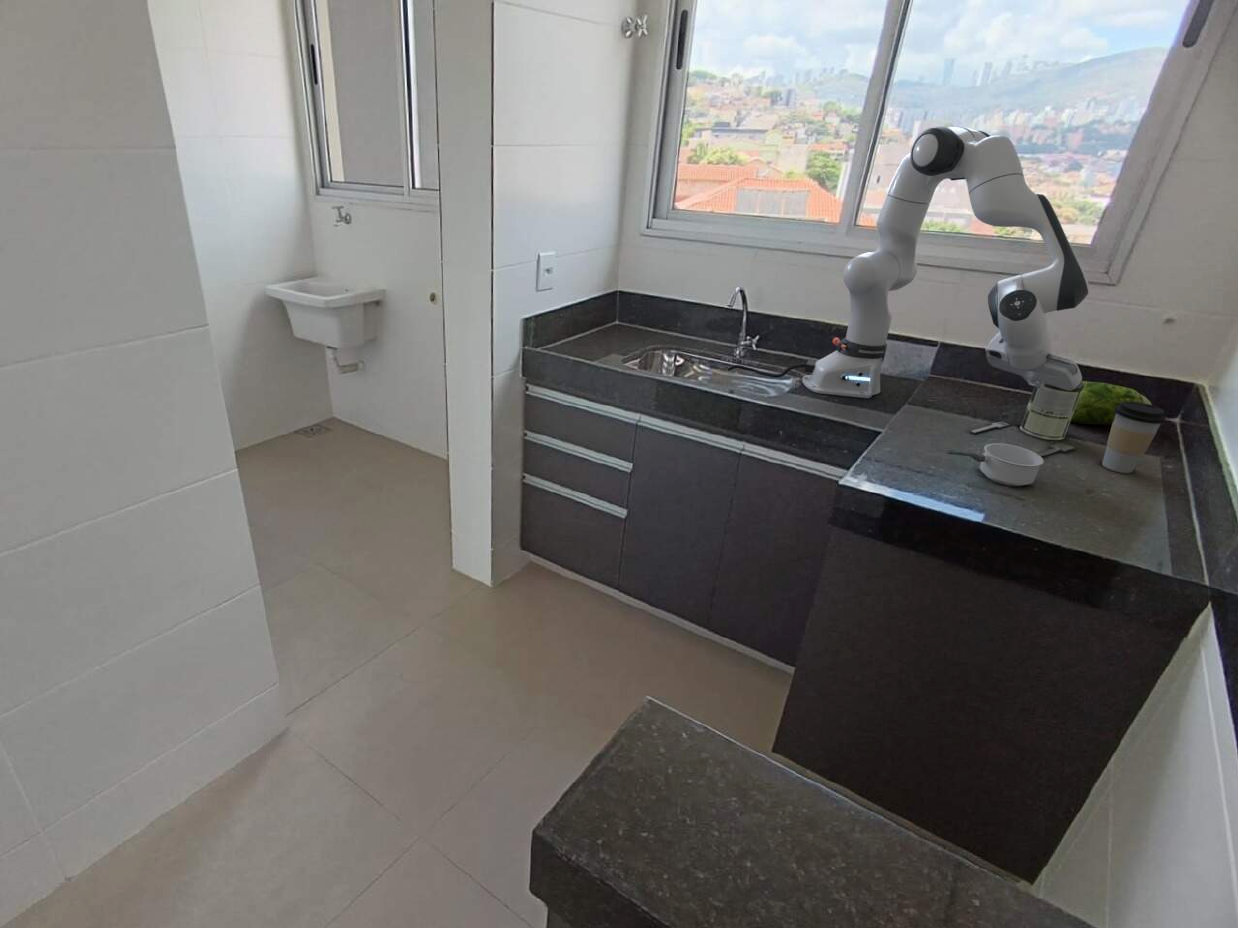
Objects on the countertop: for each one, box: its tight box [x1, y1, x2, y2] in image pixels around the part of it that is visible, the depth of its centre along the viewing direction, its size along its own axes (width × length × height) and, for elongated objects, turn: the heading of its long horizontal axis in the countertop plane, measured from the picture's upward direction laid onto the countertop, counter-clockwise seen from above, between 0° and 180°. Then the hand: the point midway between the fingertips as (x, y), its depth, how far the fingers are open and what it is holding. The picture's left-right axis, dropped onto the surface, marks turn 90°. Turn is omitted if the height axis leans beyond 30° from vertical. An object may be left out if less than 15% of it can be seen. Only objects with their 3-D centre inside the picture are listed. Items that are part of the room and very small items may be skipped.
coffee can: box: [1019, 381, 1085, 441], centre depth 167 cm, size 10×10×14 cm
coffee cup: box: [1102, 401, 1167, 474], centre depth 149 cm, size 9×9×15 cm
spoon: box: [1037, 442, 1075, 458], centre depth 158 cm, size 14×3×1 cm, turn 122°
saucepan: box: [945, 442, 1044, 487], centre depth 143 cm, size 12×20×6 cm, turn 89°
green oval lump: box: [1070, 380, 1152, 426], centre depth 176 cm, size 12×21×11 cm, turn 84°
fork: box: [969, 421, 1010, 435], centre depth 170 cm, size 15×2×1 cm, turn 122°
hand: (1036, 384), depth 158 cm, fingers closed
